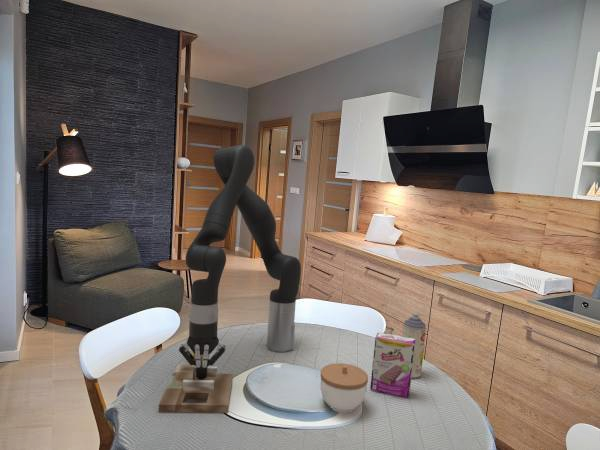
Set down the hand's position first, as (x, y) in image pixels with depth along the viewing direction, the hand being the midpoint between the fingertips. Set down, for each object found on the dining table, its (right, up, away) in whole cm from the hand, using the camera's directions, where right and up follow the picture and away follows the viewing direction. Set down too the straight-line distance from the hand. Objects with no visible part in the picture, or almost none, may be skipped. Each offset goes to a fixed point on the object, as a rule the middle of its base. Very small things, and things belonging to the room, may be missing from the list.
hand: (201, 378), depth 114 cm
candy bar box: (+54, -6, +6) cm, 54 cm away
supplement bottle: (-5, -1, +17) cm, 17 cm away
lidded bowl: (+38, -6, -3) cm, 39 cm away
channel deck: (0, -3, -2) cm, 4 cm away
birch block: (-5, -1, 0) cm, 5 cm away
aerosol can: (+62, -6, +18) cm, 65 cm away
